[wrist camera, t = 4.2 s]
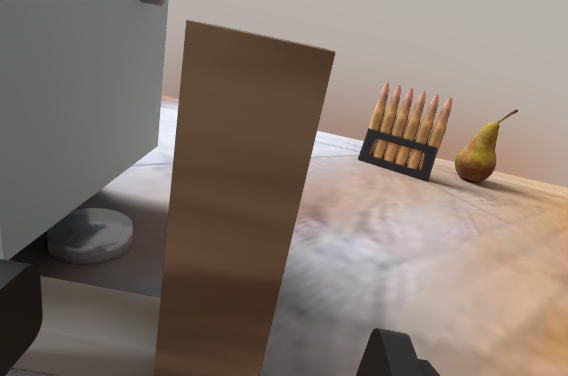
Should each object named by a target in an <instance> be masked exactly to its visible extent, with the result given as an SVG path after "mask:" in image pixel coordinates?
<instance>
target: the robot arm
mask: <svg viewBox="0 0 568 376" xmlns="http://www.w3.org/2000/svg"><path fill="white" fill-rule="evenodd" d="M42 320H43V311H42V294H41V277H40V270H39V268H38V267H37V266H36V265H33V264H27V263H22V262H16V261H11V260H5V259H0V376H5V375H6V374H7V372H8V371H9V370H10V369H11V368H12V367H13V366H14V364H15V363H16V362H17V361H18V360H19V359H20V357H21V356H22V355H23V354H24V353H25V352H26V351H27V349H28V348H29V347H30V346H31V345H32V343H33V342H34V340H35V339H36V337H37V335H38V333H39V331H40V328H41V325H42ZM356 376H440V375H439V374H438V373H437V371H436V370H435V369H434V368H433V366H432V365H431V364H430V363H429V362H428V361H427V360H421V359H418V358H417V355H416V353H415V350H414V347H413V345H412V342H411V339H410V337H409V336H408V335H407V334H406V333H401V332H395V331H390V330H384V329H379V328H375V329H374V330H373V331H372V333H371V336H370V338H369V341H368V344H367V346H366V349H365V352H364V355H363V357H362V360H361V363H360V366H359V368H358V371H357V374H356Z"/></svg>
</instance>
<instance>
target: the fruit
mask: <svg viewBox="0 0 568 376" xmlns="http://www.w3.org/2000/svg"><path fill="white" fill-rule="evenodd" d="M516 112H518V110H514V111H513V112H511V113H510V114H508V115H507V116H506V117H504V118H503V119H501V120H499V121H497V122H495V121H493V122H490V123H488V124H486V125H485V126H484V127H483V128H482V129H481V130H480V131H479V132H478V133H477V134H476V135H475V137H474V138H473V139H472V141H471V142H470V143H469V144H468V145H467V146H466V147H465V148H464V149H463V150H462V151H460V153H459V154H458V155H457V157H456V160H455V168H456V171H457V173H458V175H459V176H460V177H462V178H464V179H467V180H470V181H472V182H481V181H483V180H485V179H487V178H488V177H489V176H490V175H491V174H492V173H493V171H494V169H495V166H496V154H495V146H496V140H497V136H498V129H499V123H500V122H501V121H502V120H504V119H505V118H507V117H509V116H510V115H512V114H514V113H516Z"/></svg>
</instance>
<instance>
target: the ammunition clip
mask: <svg viewBox="0 0 568 376" xmlns="http://www.w3.org/2000/svg"><path fill="white" fill-rule="evenodd" d="M388 92H389V84H388V83H386V84H385V86H384V88H383V89H382V92H381V94H380V96H379V100H378V102H377V105H376V108H375V110H374V112H373V115H372V118H371V122H370V125H369V128H368V131H367V134H366V137H365V140H364V143H363V146H362V149H361V151H360V154H359V157H358V159H359V160H360V161H363V162H367V163H370V164H373V165H376V166H379V167H382V168H386V169H389V170H392V171H395V172H398V173H401V174H404V175H408V176H411V177H414V178H417V179H420V180H423V181H428V180H429V177H430V173H431V170H432V167H433V164H434V161H435V158H436V155H437V152H438V150H439V147H440V144H441V141H442V139H443V136H444V133H445V130H446V124H447V121H448V117H449V114H450V110H451V105H452V98H451V97H450V98H449V99H448V100H447V101H446V103H445V105H444V106H443V108H442V111H441V113H440V116H439V118H438V120H437V122H436V124H435V126H434V128H433V130H432V126H433V121H434V117H435V113H436V110H437V106H438V94H436V95H435V97H434V98H433V99H432V101H431V103H430V105H429V107H428V110H427V113H426V115H425V117H424V119H423V121H422V123H421V125H420V128H419V131H418V134H417V130H418V127H419V124H420V118H421V114H422V110H423V107H424V103H425V91H423V92H422V94H421V95H420V96H419V98H418V100H417V102H416V105H415V107H414V110H413V112H412V115H411V117H410V119H409V121H408V124H407V120H408V114H409V111H410V107H411V103H412V98H413V89H412V88H411V89H410V90H409V91H408V93H407V95H406V97H405V99H404V102H403V104H402V107H401V109H400V112H399V114H398V116H397V118H396V111H397V108H398V103H399V100H400V93H401V87H400V85H399V86H398V87H397V88H396V90H395V92H394V94H393V96H392V98H391V101H390V104H389V107H388V110H387V111H386V114H385V116H384V111H385V106H386V101H387V98H388ZM383 116H384V119H383ZM395 118H396V121H395ZM382 120H383V123H382ZM394 122H395V124H394ZM381 123H382V126H381ZM406 124H407V127H406ZM393 125H394V127H393ZM380 127H381V129H380ZM405 127H406V130H405ZM392 128H393V130H392ZM404 130H405V133H404ZM431 130H432V133H431ZM391 131H392V133H391ZM430 133H431V136H430ZM403 134H404V136H403ZM416 134H417V137H416ZM429 136H430V139H429V142H428V143H427V141H428V138H429ZM415 137H416V139H415ZM376 141H377V142H376ZM388 142H389V143H388ZM375 144H376V145H375ZM387 145H388V146H387ZM399 146H400V148H399ZM374 147H375V149H374ZM386 148H387V149H386ZM398 149H399V151H398ZM411 149H412V151H411ZM373 151H374V152H373ZM385 151H386V152H385ZM397 152H398V154H397ZM410 152H411V154H410ZM423 153H424V155H423ZM384 154H385V156H384ZM409 155H410V157H409ZM396 156H397V157H396ZM422 156H423V158H422ZM408 158H409V160H408ZM395 159H396V160H395ZM421 159H422V161H421ZM407 161H408V163H407ZM420 162H421V164H420ZM419 165H420V167H419Z"/></svg>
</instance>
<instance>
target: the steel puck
mask: <svg viewBox="0 0 568 376" xmlns="http://www.w3.org/2000/svg"><path fill="white" fill-rule="evenodd" d="M132 233H133V223H132V221H131V219H130V218H129V217H128V216H126V215H124V214H122V213H120V212H117V211H114V210H110V209H103V208H84V209H77V210H73V211H72V212H70V213H69V214H68V215H67V216H65V217H64V218H63V219H61V220H60V221H59V222H57V223H56V224H55V225H53V226H52V227H51V228H50V229H48V230H47V237H48V250H49V252H50V254H51V255H52V256H53V257H54V258H56V259H58V260H60V261H63V262H66V263H70V264H76V265H94V264H101V263H106V262H109V261H112V260H115V259H117V258H119V257H121V256H123V255H124V254H125V253H127V252H128V250H129V249H130V248H131V245H132Z"/></svg>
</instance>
